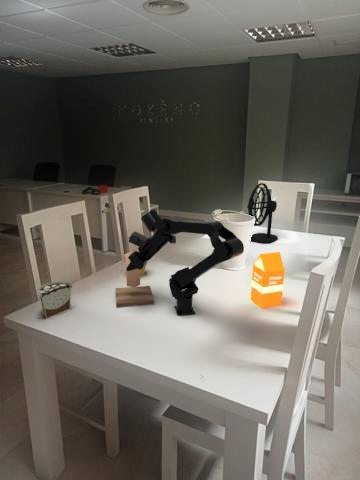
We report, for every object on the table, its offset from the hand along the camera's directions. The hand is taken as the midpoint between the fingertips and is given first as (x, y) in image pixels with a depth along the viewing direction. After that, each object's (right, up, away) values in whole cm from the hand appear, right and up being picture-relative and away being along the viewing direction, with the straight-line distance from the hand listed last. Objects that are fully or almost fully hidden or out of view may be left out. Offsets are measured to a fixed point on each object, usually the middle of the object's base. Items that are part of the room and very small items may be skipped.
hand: (129, 267), depth 131 cm
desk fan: (+71, +11, +88) cm, 114 cm away
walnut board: (+1, -12, +3) cm, 13 cm away
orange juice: (+52, -14, +1) cm, 54 cm away
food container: (-26, -15, -8) cm, 31 cm away
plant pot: (-1, -6, +27) cm, 27 cm away
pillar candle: (+1, -6, +2) cm, 7 cm away
